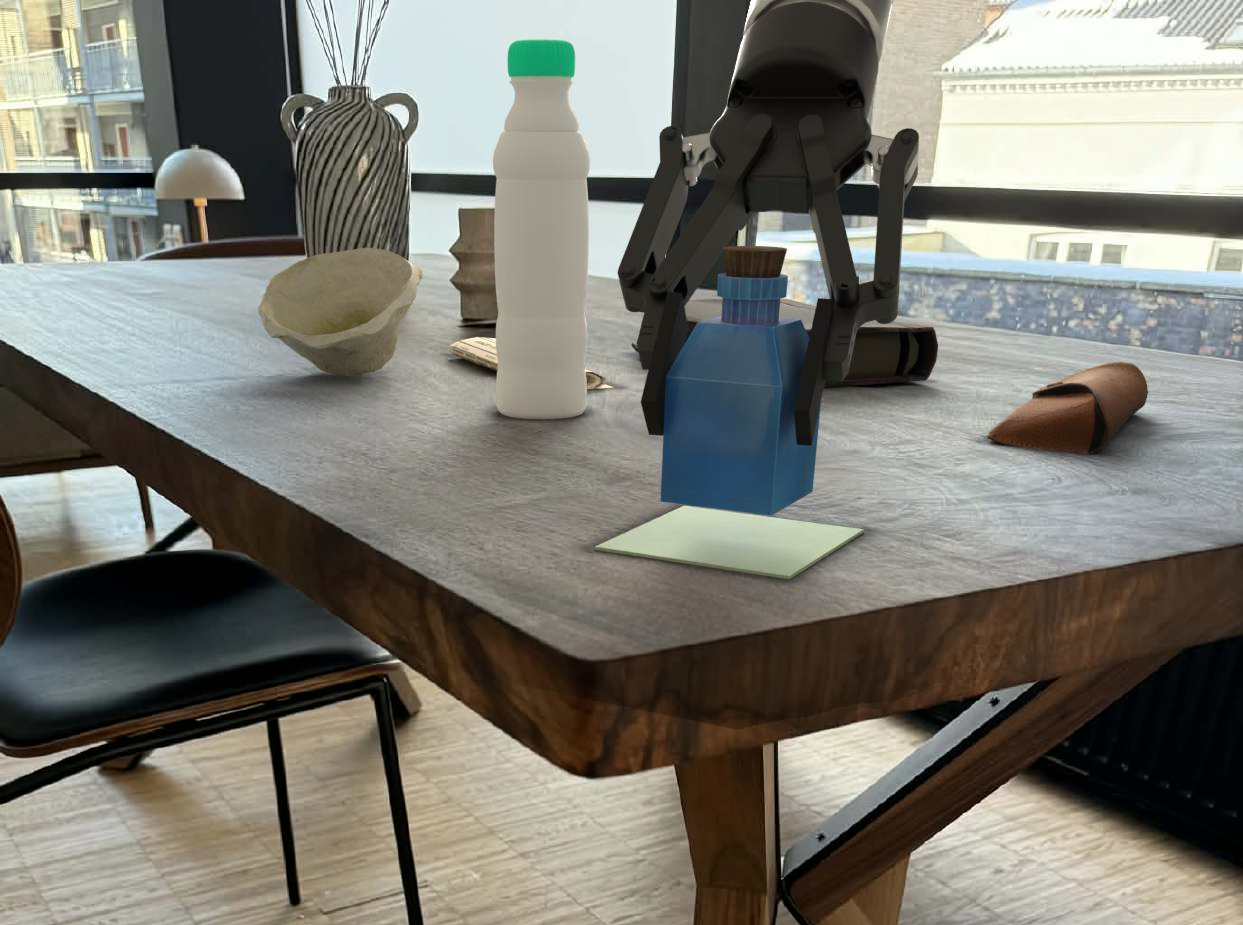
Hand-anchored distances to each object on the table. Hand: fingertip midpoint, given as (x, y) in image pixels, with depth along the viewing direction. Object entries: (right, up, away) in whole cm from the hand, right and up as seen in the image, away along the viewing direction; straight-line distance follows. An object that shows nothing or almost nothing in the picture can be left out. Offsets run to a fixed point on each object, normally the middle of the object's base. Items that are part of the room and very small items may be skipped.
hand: (726, 423), depth 71 cm
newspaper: (-11, +25, +60) cm, 66 cm away
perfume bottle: (+1, -2, +5) cm, 6 cm away
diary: (+12, +27, +62) cm, 69 cm away
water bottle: (-9, +15, +41) cm, 44 cm away
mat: (+1, -4, +6) cm, 8 cm away
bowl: (-27, +25, +59) cm, 70 cm away
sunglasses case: (+30, +12, +36) cm, 48 cm away
